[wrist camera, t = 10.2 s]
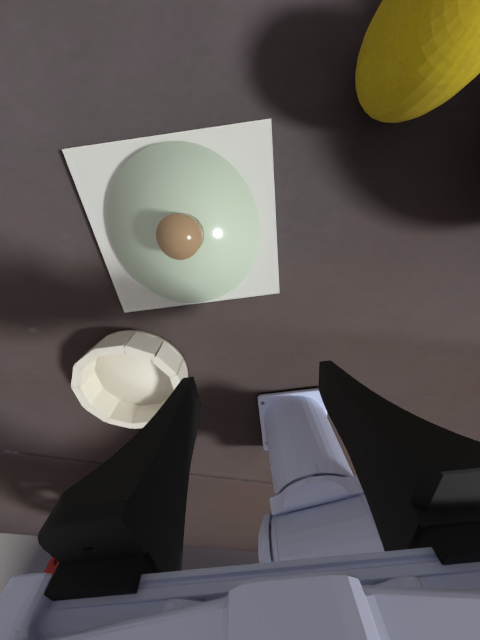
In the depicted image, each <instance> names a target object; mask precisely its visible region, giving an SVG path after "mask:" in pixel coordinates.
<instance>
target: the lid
mask: <svg viewBox="0 0 480 640" xmlns="http://www.w3.org/2000/svg"><path fill="white" fill-rule="evenodd" d="M108 226H109V231H110V235H111V239H112V242H113V245H114V248H115V250H116V252H117V254H118V256H119V258H120V259H121V261H122V263H123V264H124V266H125V267H126V268H127V270H128V271H129V272H130V274H131V275H132V276H133V277H134V278H135V279H136V280H137V281H138V282H140V283H141V284H142V285H143V286H144V287H146V288H147V289H149V290H150V291H152V292H154V293H155V294H157V295H159V296H161V297H164V298H167V299H169V300H173V301H177V302H183V303H200V302H206V301H211V300H214V299H216V298H219V297H221V296H223V295H225V294H227V293H228V292H230V291H231V290H232V289H234V288H235V287H236V286H237V285H238V284H239V283H240V282H241V281H242V280H243V279H244V277H245V276H246V275H247V273H248V272H249V270H250V268H251V266H252V264H253V262H254V260H255V257H256V254H257V250H258V245H259V238H260V223H259V216H258V210H257V207H256V203H255V200H254V198H253V195H252V193H251V191H250V189H249V187H248V185H247V184H246V182H245V180H244V179H243V177H242V176H241V175H240V174H239V172H238V171H237V170H236V169H235V168H234V167H233V166H232V165H231V164H230V163H229V162H228V161H227V160H226V159H224V158H223V157H222V156H220V155H219V154H218V153H216V152H214V151H212V150H210V149H209V148H207V147H204V146H201V145H198V144H196V143H191V142H186V141H166V142H160V143H157V144H153V145H150V146H148V147H146V148H144V149H142V150H141V151H139V152H138V153H136V154H135V155H134V156H132V157H131V158H130V159H129V160H128V161H127V162H126V163H125V164H124V166H123V167H122V169H121V170H120V171H119V173H118V175H117V177H116V179H115V181H114V183H113V186H112V189H111V192H110V196H109V202H108Z"/></svg>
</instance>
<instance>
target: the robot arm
mask: <svg viewBox="0 0 480 640" xmlns="http://www.w3.org/2000/svg"><path fill="white" fill-rule="evenodd" d="M200 404H201V403H200V399H199V395H198V392H197V388H196V384H195V381H194V377H187V378H183V379H182V380H181V381H180V382H179V384H178V385H177V387H176V388H175V389H174V391H173V392H172V393H171V395H170V396H169V397H168V399H167V400H166V401H165V403H164V404H163V405H162V406H161V408H160V409H159V410H158V411H157V412H156V414H155V415H154V416H153V417H152V418H151V420H150V421H149V422H148V423H147V424H146V425H145V426H144V427H143V428H142V429H141V430H140V431H139V432H138V433H137V434H136V435H135V436H134V437H133V438H132V439H131V440H130V441H129V442H128V443H127V444H126V445H124V446H123V447H122V448H121V449H120V450H119V451H118V452H117V453H116V454H114V455H113V456H112V457H111V458H109V459H108V460H107V461H106V462H105V463H103V464H102V465H101V466H99V467H98V468H97V469H96V470H94V471H93V472H92V473H90V474H89V475H87V476H86V477H85V478H83V479H82V480H80V481H79V482H77V483H76V484H75V485H73V486H72V487H70V488H69V489H67V490H66V491H64V492H63V494H62V495H61V497H60V498H59V500H58V502H57V503H56V505H55V507H54V508H53V510H52V512H51V513H50V515H49V517H48V518H47V520H46V522H45V523H44V525H43V527H42V528H41V530H40V531H39V534H38V541H39V544H40V545H41V547H42V548H43V549H44V550H46V551H47V552H48V553H49V554H50V555H51V556H52V557H53V558H55V559H56V560H57V561H58V562H59V564H58V566H57V568H56V570H55V572H54V574H53V575H52V574H49V573H36V574H25V575H15V576H14V577H12V578H11V580H10V581H9V583H8V584H7V586H6V588H5V589H4V591H3V592H2V594H1V596H0V640H480V442H478V441H476V440H473V439H470V438H467V437H465V436H462V435H459V434H457V433H454V432H452V431H449V430H447V429H444V428H442V427H440V426H437V425H435V424H433V423H430V422H428V421H426V420H424V419H422V418H420V417H418V416H416V415H414V414H412V413H409V412H408V411H406V410H404V409H402V408H400V407H398V406H396V405H395V404H393V403H391V402H389V401H387V400H386V399H384V398H382V397H381V396H379V395H378V394H376V393H375V392H373V391H371V390H370V389H368V388H367V387H365V386H364V385H363V384H361V383H360V382H358V381H357V380H356V379H354V378H353V377H351V376H350V375H349V374H347V373H346V372H345V371H344V370H342V369H341V368H340V367H338V366H337V365H336V364H334V363H333V362H332V361H323V362H320V366H319V388H315V389H306V390H297V391H289V392H280V393H271V394H262V395H259V396H258V406H259V414H260V423H261V431H262V440H263V448H264V450H268V453H269V460H270V467H271V473H272V480H273V487H274V494H275V496H274V497H271V498H270V507H271V513H268V514H266V515H265V516H264V518H263V521H262V525H261V527H260V531H259V540H258V549H259V563H257V564H246V565H236V566H226V567H215V568H204V569H193V570H184V571H182V554H183V538H184V525H185V512H186V501H187V490H188V481H189V472H190V465H191V459H192V454H193V449H194V444H195V439H196V435H197V429H198V424H199V418H200ZM327 412H328V414H329V416H330V418H331V420H332V422H333V424H334V426H335V427H336V429H337V431H338V433H339V435H340V437H341V439H342V441H343V443H344V445H345V447H346V449H347V451H348V454H349V456H350V458H351V461H352V463H353V466H354V468H355V471H356V473H357V476H358V478H357V476H353V473H352V471H351V469H350V467H349V465H348V463H347V460H346V458H345V456H344V454H343V452H342V449H341V447H340V445H339V443H338V441H337V439H336V436H335V434H334V432H333V430H332V428H331V425H330V423H329V421H328V419H327ZM358 479H359V480H358ZM359 481H360V482H359ZM360 484H361V485H360ZM361 486H362V487H361Z"/></svg>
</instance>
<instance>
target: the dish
mask: <svg viewBox="0 0 480 640" xmlns="http://www.w3.org/2000/svg"><path fill="white" fill-rule="evenodd" d="M187 377H188V368H187V364H186V362H185V359H184V358H183V356H182V354H181V353H180V352H179V350H178V349H177V348H176V347H175V346H174V345H172V344H171V343H170V342H169V341H167V340H165V339H164V338H162V337H160V336H158V335H155V334H153V333H150V332H146V331H141V330H122V331H117V332H114V333H111V334H109V335H107V336H106V337H104V338H103V339H101V340H100V341H99V342H98V343H97V344H96V345H95V346H93V347H92V348H91V349H90V350H89V351H88V352H87V353H86V354H85V355H84V356H82V357H81V358H80V359H79V360H78V361H77V362H76V363H75V364H74V366H73V373H72V381H71V386H72V387H71V388H72V390H73V392H74V393H75V395H76V397H77V398H78V400H79V402H80V403H81V405H82V407H85V408H84V409H86V410H87V411H89V412H90V413H92V414H93V415H95V416H96V417H98V418H99V419H101V420H102V421H104V422H106V421H107V423H109V424H113V425H117V426H121V427H125V428H130V429H132V427H133V429H139V428H143V427H144V426H145V425H146V424H147V423H148V422H149V421H150V420H151V418H152V417H153V416H154V415H155V414H156V412H157V411H158V410H159V409H160V408H161V406H162V405H163V404H164V403H165V401H166V400H167V399H168V397H169V396H170V395H171V393H172V392H173V391H174V389H175V388H176V387H177V385H178V384H179V382H180V381H181V380H182V379H183V378H187Z"/></svg>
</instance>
